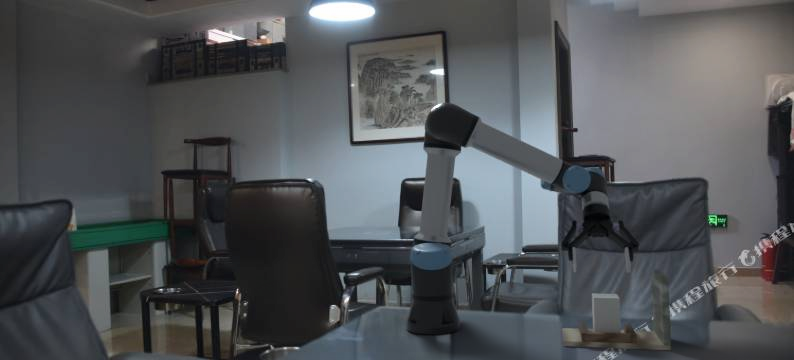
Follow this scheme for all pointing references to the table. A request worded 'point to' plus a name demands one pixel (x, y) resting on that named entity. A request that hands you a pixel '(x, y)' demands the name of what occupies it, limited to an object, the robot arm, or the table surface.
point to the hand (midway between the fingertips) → (601, 269)
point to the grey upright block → (606, 313)
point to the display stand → (628, 336)
